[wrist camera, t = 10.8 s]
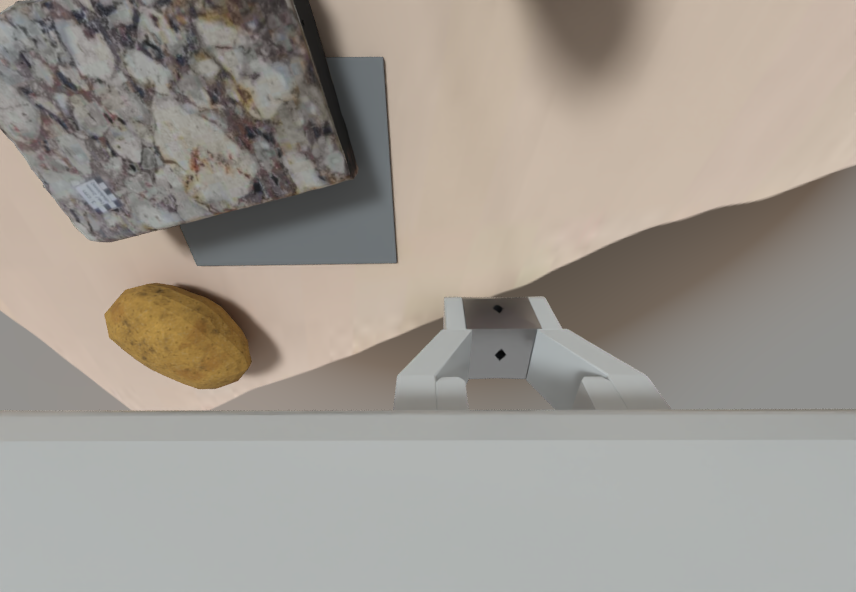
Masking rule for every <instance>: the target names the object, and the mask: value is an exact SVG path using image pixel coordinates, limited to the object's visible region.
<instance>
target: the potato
mask: <svg viewBox="0 0 856 592" xmlns="http://www.w3.org/2000/svg"><path fill="white" fill-rule="evenodd" d="M104 315H105V319H106V324H107V329H108V334H109V338H110V339H111V340H113V341H114V342H115V343H116V344H117V345H118V346H120V347H121V348H122V349H123V350H124V351H126V352H127V353H128V354H130V355H131V356H132V357H133V358H135V359H136V360H137V361H139V362H141V363H142V364H144V365H145V366H147V367H148V368H150V369H152V370H154V371H156V372H158V373H160V374H162V375H164V376H166V377H169V378H171V379H173V380H176V381H178V382H181V383H183V384H186V385H189V386H192V387H194V388H197V389H216V388H219V387H222V386H225V385H228V384H231V383H233V382H236V381H238V380H239V379H240V378H241V377H242V375H243V374H244V373H245V372H246V370H247V369H248V368H249V366H250V364H251V362H252V361H251V357H250V353H249V348H248V341H247V339H246V337H245V335H244V333H243V331H242V330H241V328H240V327H239V326H238V325H237V324H236V323H235V322H234V320H233V319H232V318H231V317H230V316H229V315H228V314H227V313H226V312H225V310H224V309H223V308H222V307H221V306H219V305H218V304H216V303H214V302H213V301H211V300H209V299H208V298H205V297H203V296H200V295H197V294H194V293H191V292H189V291H186V290H184V289H181V288H179V287H176V286H173V285H166V284H160V283H153V284H146V285H142V286H138V287H135V288H131V289H127V290H125V291H124V292H123V293H122V294H121V295H120V297H119V298H118V299H117V300H116V301H115V302H114V304H113V305H112V306H111V307H110V308H109V310H108V311H107V312H106V313H105V314H104Z"/></svg>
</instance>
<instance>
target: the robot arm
mask: <svg viewBox="0 0 856 592" xmlns="http://www.w3.org/2000/svg"><path fill="white" fill-rule="evenodd" d="M443 324H444V325H443V330H441V331H440V332H439V333H438V334H437V335H436V336H435V337H434V338H433V339H432V340H431V341H430V343H428V345H426V346H425V348H424V349H423V350H422V351H421V352H420V353H419V354H418V355H417V356H416V357H415V358H414V359H413V360H412V361H411V362H410V363H409V364H408V365H407V366H406V367H405V368H404V369H403V370H402V371H401V373H399V375H398V376H397V383H396V391H395V399H394V409H393V410H291V411H290V410H283V411H282V410H278V411H277V410H274V411H270V410H265V411H263V410H258V411H256V410H255V411H254V410H252V411H13V410H12V411H10V410H9V411H8V410H5V411H4V410H1V411H0V592H856V409H730V410H729V409H711V410H710V409H705V410H703V409H696V410H695V409H693V410H692V409H690V410H689V409H686V410H683V409H682V410H681V409H680V410H675V409H674V410H673V409H671V408H670V406H669V405H668V404H667V402H666V401H665V400H664V398H663V397H662V395H661V394H660V393H659V391H658V390H657V389H656V387H655V386H654V385H653V384H652V382H651V381H650V379H649V378H648V377H647V375H645V374H643V373H642V372H640V371H638V370H636V369H635V368H633V367H631V366H629V365H628V364H626V363H625V362H623V361H621V360H619V359H618V358H616V357H614V356H613V355H611V354H609V353H608V352H606V351H604V350H602V349H601V348H599V347H597V346H596V345H594V344H592V343H591V342H588V341H587V340H585V339H584V338H582V337H580V336H579V335H577V334H575V333H574V332H572V331H570V330H568V329H562V327H561V325H560V324H559V322H558V320H557V318H556V316H555V315H554V313H553V311H552V309H551V307H550V305H549V304H548V302H547V300H546V298H545V297H543V296H539V297H538V296H537V297H514V298H494V297H445V298H444V323H443ZM483 378H512V379H526V380H527V381H528V382H529V383H530V384H531V385H532V386H533V387H534V388H535V389H536V390H537V391H538V393H539V394H541V395H542V396H543V397H544V399H546V401H547V402H548V403H549V404H551V406H552V407H553V408H555V410H469V408H468V400H467V393H466V383H467V382H468V379H483Z"/></svg>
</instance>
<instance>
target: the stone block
mask: <svg viewBox="0 0 856 592" xmlns="http://www.w3.org/2000/svg"><path fill="white" fill-rule="evenodd" d="M0 129H1V130H2V131H3V133H4V134H5V135H6V136H7V137H8V138H9V139H10V140H11V141H12V142H13V143H14V144H15V146H16V147H17V149H18V150H19V151H20V153H21V154H22V155H23V156H24V158H25V159H26V160H27V162H28V164H29V166H30V167H31V169H32V170H33V171H34V173H35V174H36V175H37V176H38V178H39V179H40V180H41V181H42V182H43V184H44V185H43V187H44V188H46V190H47V191H48V192H49V193H50V194H51V196H52V197H53V198H54V199H55V201H56V202H57V204H58V205H59V206H60V208H61V209H62V210H63V211H64V212H65V214H66V215H67V216H68V217H69V218H70V220H71V222H72V223H73V225H74V226H75V227H76V229H78V230H79V231H80V232H81V233H82V234H83V235H84V236H85V237H86V238H87V239H89V240H91V241H97V242H114V241H118V240H121V239H125V238H129V237H133V236H138V235H141V234H145V233H149V232H152V231H157V230H162V229H167V228H169V227H173V226H177V225H181V224H186V223H190V222H193V221H197V220H201V219H205V218H209V217H212V216H216V215H219V214H222V213H227V212H231V211H235V210H239V209H242V208H248V207H251V206H254V205H258V204H263V203H267V202H270V201H274V200H278V199H283V198H286V197H290V196H294V195H298V194H301V193H304V192H307V191H311V190H315V189H320V188H324V187H328V186H331V185H335V184H338V183H341V182H343V181H347V180H353V179H354V177H355V176H356V175H357V174H358V170H359V168H358V166H357V164H356V160H355V155H354V152H353V149H352V145H351V142H350V139H349V135H348V130H347V127H346V124H345V121H344V118H343V116H342V113H341V110H340V106H339V102H338V99H337V95H336V92H335V88H334V84H333V81H332V77H331V74H330V71H329V67H328V64H327V60H326V57H325V54H324V50H323V47H322V44H321V40H320V37H319V33H318V30H317V27H316V23H315V20H314V17H313V14H312V10H311V7H310V4H309V1H308V0H26V1H18V2H15V4H14V5H12V6H10V7H8V8H7V9H5V10H3V11H2V12H1V13H0Z"/></svg>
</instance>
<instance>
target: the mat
mask: <svg viewBox="0 0 856 592" xmlns="http://www.w3.org/2000/svg"><path fill="white" fill-rule="evenodd" d="M326 60H327V64H328V67H329V71H330V74H331V77H332V81H333V84H334V88H335V92H336V95H337V99H338V102H339V106H340V110H341V113H342V116H343V118H344V121H345V124H346V127H347V130H348V135H349V139H350V142H351V145H352V149H353V152H354V155H355V160H356V164H357V166H358V168H359V170H358V174H357V175H356V176H355V177H354V179H353V180H347V181H343V182H341V183H338V184H335V185H331V186H328V187H324V188H320V189H315V190H311V191H307V192H304V193H301V194H298V195H294V196H290V197H286V198H283V199H278V200H274V201H270V202H267V203H263V204H258V205H254V206H251V207H248V208H242V209H239V210H235V211H231V212H227V213H222V214H219V215H216V216H212V217H209V218H205V219H201V220H197V221H193V222H190V223H186V224H181V225H180V227H181V230H182V232H183V234H184V237H185V239H186V241H187V244H188V246H189V248H190V251H191V253H192V255H193V258H194V260H195V262H196V265H197V266H219V265H290V264H361V263H397V258H396V243H395V228H394V212H393V197H392V182H391V167H390V152H389V136H388V121H387V106H386V91H385V76H384V60H383V57H326Z"/></svg>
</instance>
